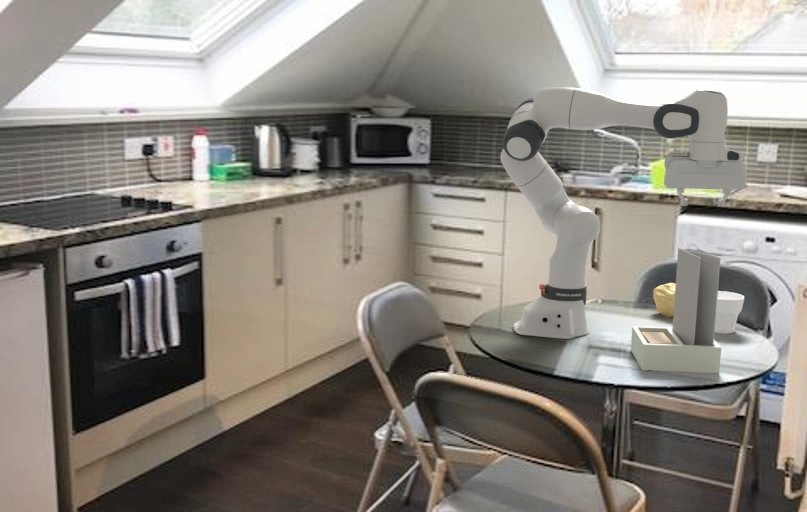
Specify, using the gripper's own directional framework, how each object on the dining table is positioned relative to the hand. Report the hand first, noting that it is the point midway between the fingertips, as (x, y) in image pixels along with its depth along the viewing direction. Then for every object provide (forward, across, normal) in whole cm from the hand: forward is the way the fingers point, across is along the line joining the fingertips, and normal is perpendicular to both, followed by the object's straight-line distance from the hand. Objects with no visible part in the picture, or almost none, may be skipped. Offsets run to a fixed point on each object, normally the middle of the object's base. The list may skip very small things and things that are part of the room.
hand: (702, 206), depth 226 cm
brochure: (+43, 0, 0) cm, 43 cm away
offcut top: (+39, -9, 0) cm, 41 cm away
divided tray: (+42, -5, 0) cm, 43 cm away
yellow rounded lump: (+43, +6, +52) cm, 67 cm away
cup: (+43, +17, +35) cm, 58 cm away
